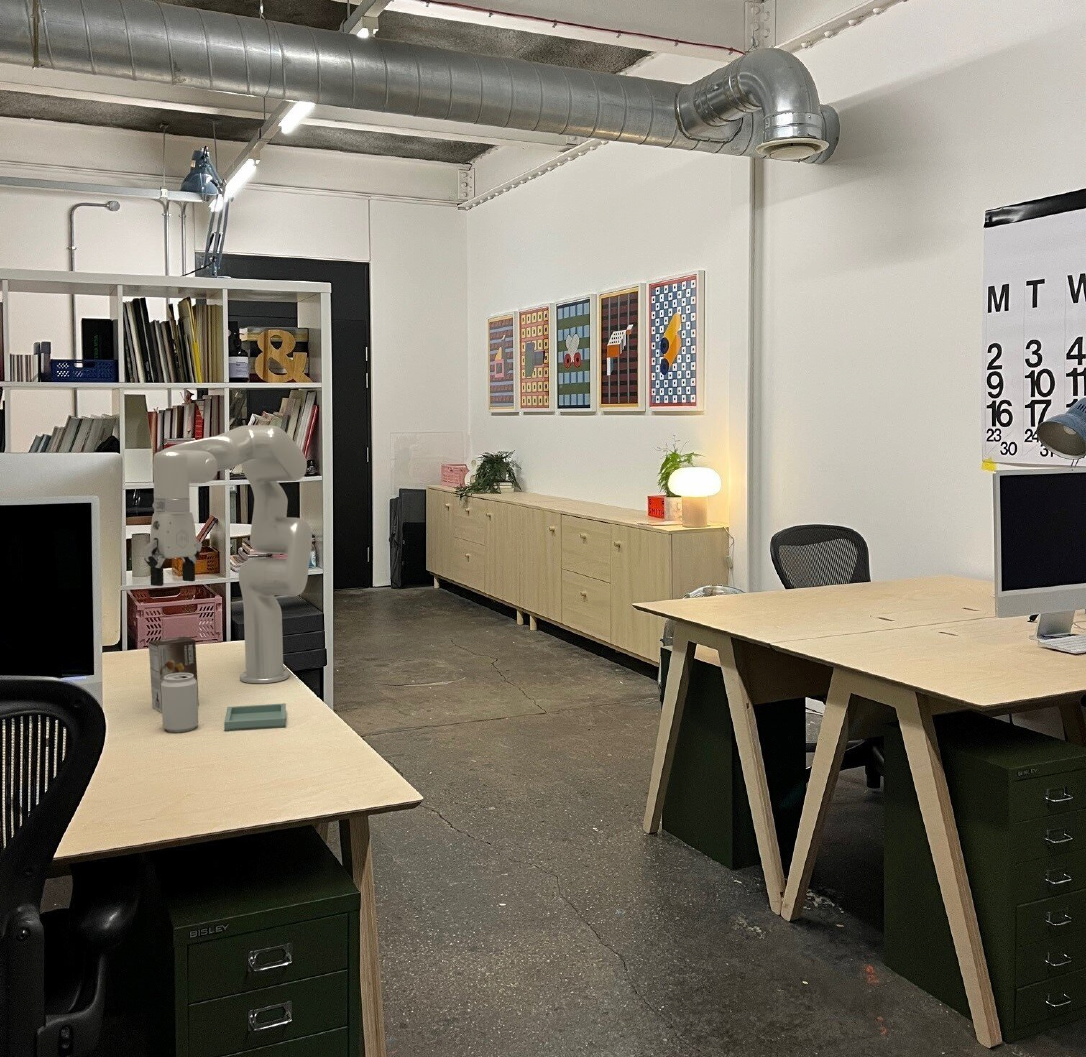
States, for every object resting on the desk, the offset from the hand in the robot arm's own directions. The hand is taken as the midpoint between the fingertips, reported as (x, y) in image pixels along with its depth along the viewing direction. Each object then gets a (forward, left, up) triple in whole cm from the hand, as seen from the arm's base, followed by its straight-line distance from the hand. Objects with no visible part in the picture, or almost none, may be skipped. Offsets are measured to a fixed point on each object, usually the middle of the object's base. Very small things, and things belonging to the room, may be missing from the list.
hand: (173, 583), depth 246 cm
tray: (+6, +17, -31) cm, 36 cm away
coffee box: (-11, -2, -31) cm, 33 cm away
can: (+8, +1, -31) cm, 32 cm away
